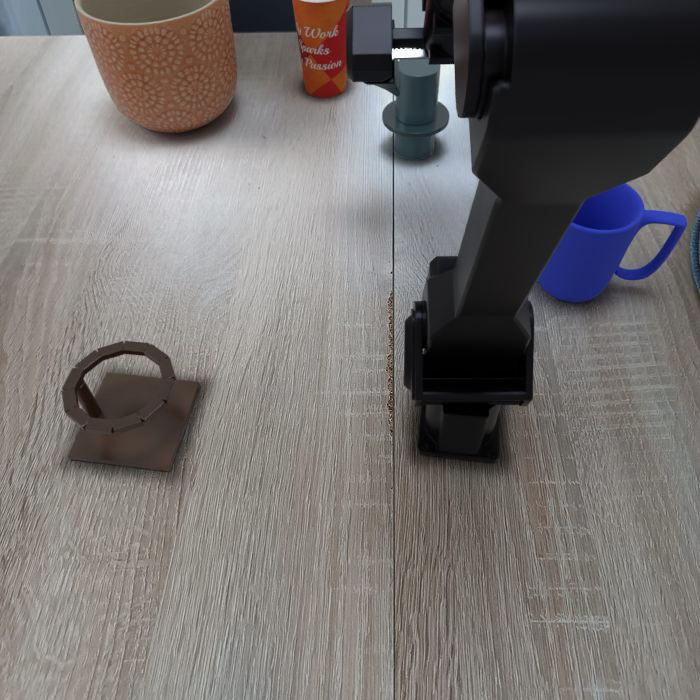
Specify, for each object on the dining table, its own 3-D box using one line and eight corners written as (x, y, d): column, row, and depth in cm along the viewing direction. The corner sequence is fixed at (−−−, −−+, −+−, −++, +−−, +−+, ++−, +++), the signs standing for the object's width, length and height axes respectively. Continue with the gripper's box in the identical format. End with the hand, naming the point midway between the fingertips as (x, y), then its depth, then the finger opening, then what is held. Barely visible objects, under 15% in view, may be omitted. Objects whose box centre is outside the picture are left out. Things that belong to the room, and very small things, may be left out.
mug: (656, 323, 61) (698, 242, 53) (525, 306, 63) (546, 226, 55) (649, 263, 66) (687, 181, 58) (527, 249, 68) (548, 167, 60)
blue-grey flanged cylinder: (444, 170, 77) (452, 85, 68) (378, 165, 78) (378, 81, 69) (447, 132, 81) (456, 49, 73) (385, 128, 82) (386, 46, 74)
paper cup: (287, 94, 88) (275, -17, 77) (315, 67, 92) (307, -41, 81) (338, 107, 86) (333, -5, 75) (364, 79, 90) (363, -31, 79)
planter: (224, 155, 80) (198, 28, 68) (93, 143, 82) (46, 20, 70) (260, 82, 90) (243, -38, 78) (144, 74, 92) (110, -44, 81)
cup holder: (170, 471, 53) (152, 436, 48) (69, 459, 54) (43, 423, 49) (200, 385, 58) (187, 346, 54) (108, 375, 59) (88, 336, 55)
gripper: (588, -118, 50) (537, 12, 65) (343, -112, 50) (349, 16, 66) (595, 19, 48) (541, 119, 64) (342, 24, 49) (349, 121, 64)
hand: (444, 90), depth 64 cm, fingers open, 9 cm apart
